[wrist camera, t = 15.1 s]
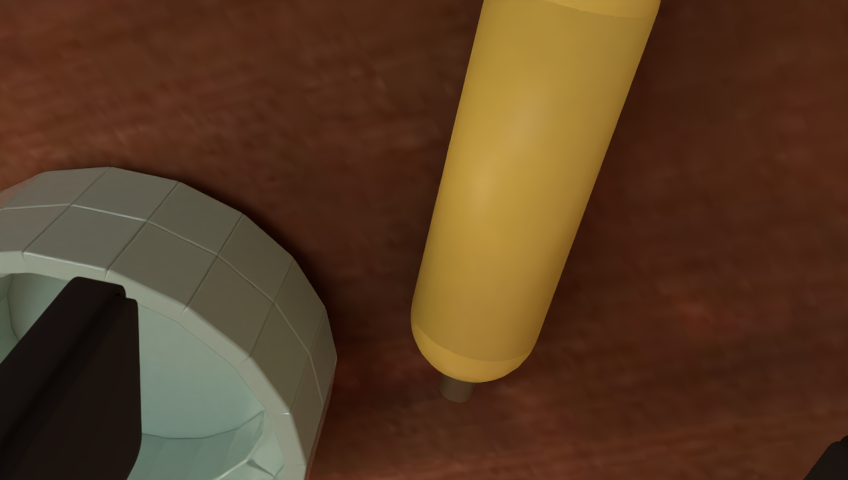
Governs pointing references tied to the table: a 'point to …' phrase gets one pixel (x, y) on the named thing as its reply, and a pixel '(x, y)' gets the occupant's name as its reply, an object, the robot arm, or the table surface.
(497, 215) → the yellow gas cartridge
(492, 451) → the table surface
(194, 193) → the bowl
